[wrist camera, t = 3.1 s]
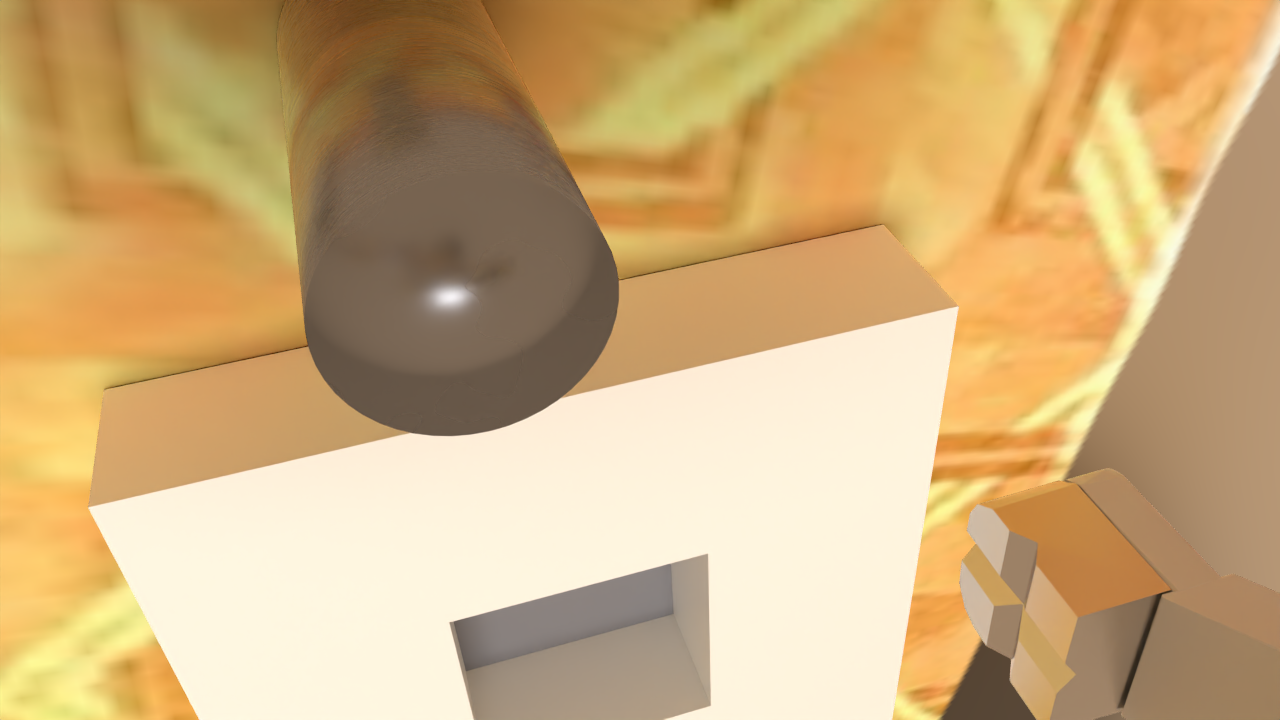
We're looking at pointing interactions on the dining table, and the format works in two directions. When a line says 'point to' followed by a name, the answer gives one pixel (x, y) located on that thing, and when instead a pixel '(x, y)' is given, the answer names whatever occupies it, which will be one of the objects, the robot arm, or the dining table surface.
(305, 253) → the steel peg
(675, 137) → the dining table surface
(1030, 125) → the dining table surface
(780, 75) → the dining table surface
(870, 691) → the housing
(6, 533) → the dining table surface
